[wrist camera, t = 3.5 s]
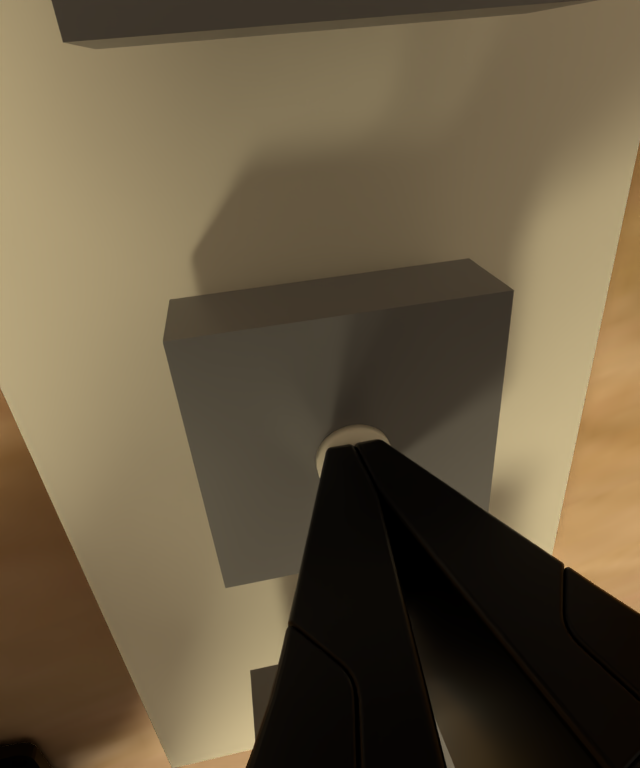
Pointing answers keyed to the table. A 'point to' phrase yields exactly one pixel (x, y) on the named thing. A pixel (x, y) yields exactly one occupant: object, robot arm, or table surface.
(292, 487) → the button one pip
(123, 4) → the button two pips
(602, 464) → the table surface
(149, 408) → the panel
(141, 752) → the table surface
